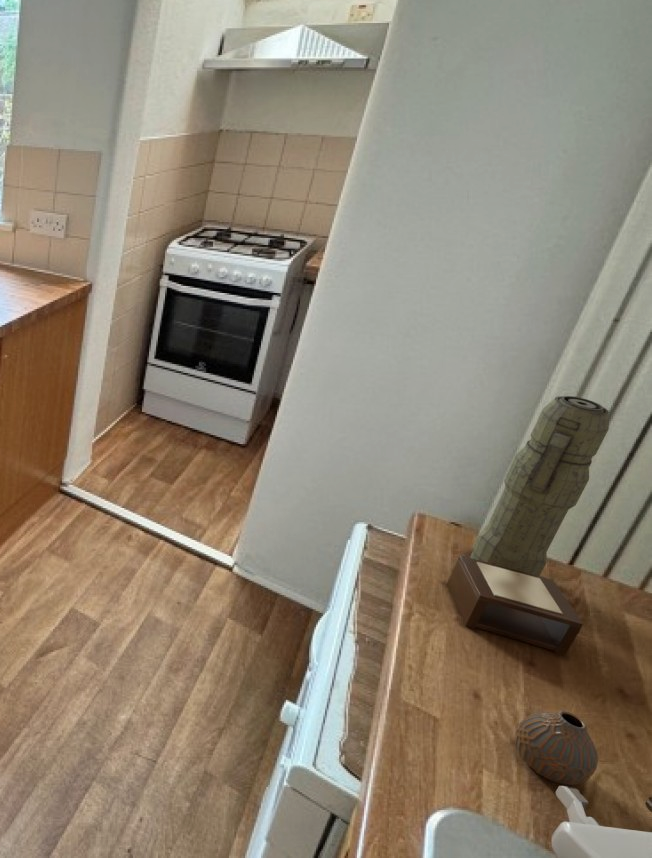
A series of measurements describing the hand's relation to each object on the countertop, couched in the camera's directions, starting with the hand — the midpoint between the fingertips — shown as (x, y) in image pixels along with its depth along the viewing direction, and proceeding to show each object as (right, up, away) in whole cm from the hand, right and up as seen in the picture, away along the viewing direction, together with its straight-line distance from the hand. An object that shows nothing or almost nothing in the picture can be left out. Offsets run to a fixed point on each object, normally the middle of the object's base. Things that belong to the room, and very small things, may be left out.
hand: (608, 794), depth 70 cm
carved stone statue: (+27, +10, +39) cm, 48 cm away
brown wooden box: (+17, +6, +29) cm, 34 cm away
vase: (+1, -2, +8) cm, 8 cm away
